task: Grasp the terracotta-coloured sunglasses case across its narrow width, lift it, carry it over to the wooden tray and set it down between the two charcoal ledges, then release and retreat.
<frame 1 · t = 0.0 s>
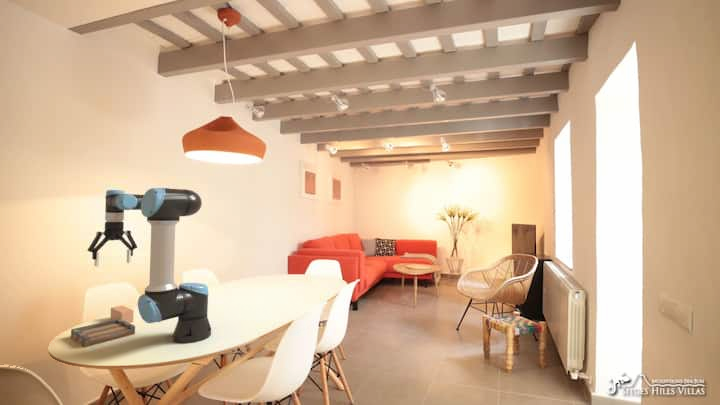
hand: (113, 264, 167), 28 cm above the table, fingers open, 13 cm apart
wooden tray: (103, 336, 148), on the table
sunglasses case: (121, 321, 167), on the table
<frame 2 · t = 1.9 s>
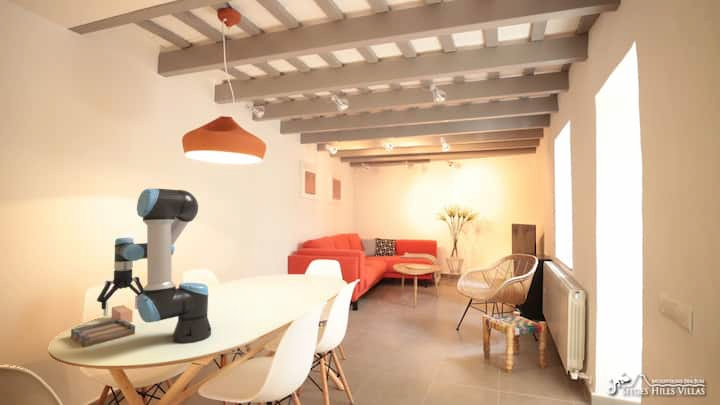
hand: (121, 312, 168), 4 cm above the table, fingers open, 13 cm apart
nothing on the table moved.
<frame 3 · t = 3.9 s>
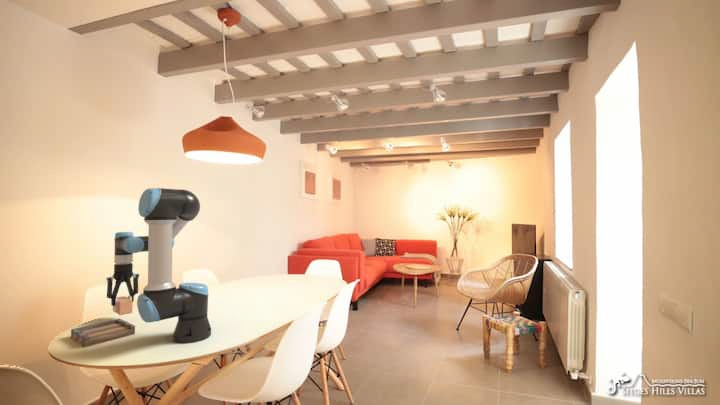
hand: (122, 310, 167), 5 cm above the table, fingers closed on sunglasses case, 5 cm apart
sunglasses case: (122, 311, 167), point 5 cm above the table, touching gripper
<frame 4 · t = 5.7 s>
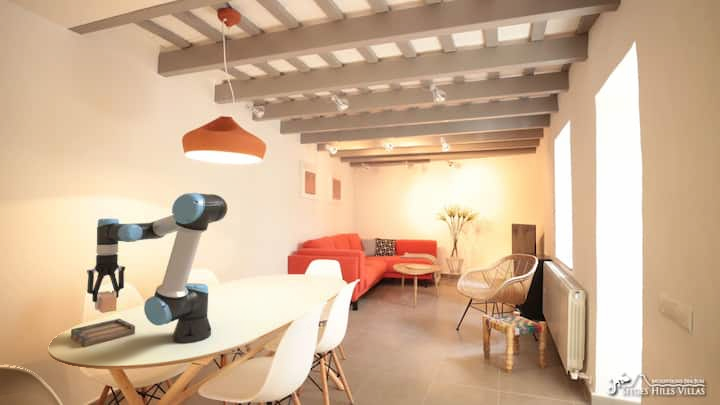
hand: (105, 307, 147), 13 cm above the table, fingers closed on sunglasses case, 5 cm apart
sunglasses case: (105, 308, 148), point 12 cm above the table, touching gripper
when the fingers open (3 cm above the table, at t = 7.7 s): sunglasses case stays where it is, resting on wooden tray.
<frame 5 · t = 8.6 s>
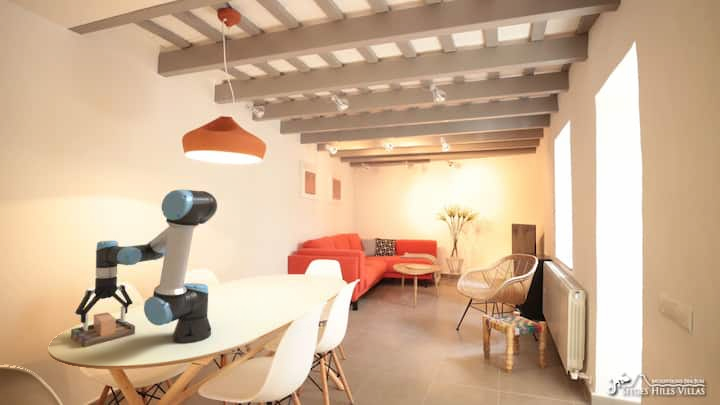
hand: (104, 325, 147), 5 cm above the table, fingers open, 13 cm apart
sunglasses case: (104, 330, 147), point 2 cm above the table, touching wooden tray
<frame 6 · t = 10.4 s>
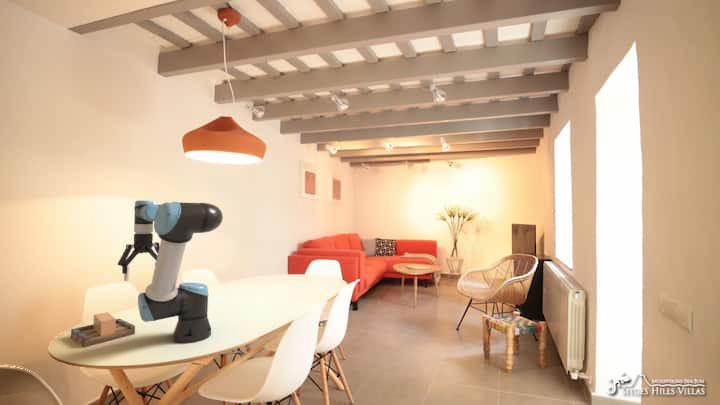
hand: (142, 278, 160), 23 cm above the table, fingers open, 13 cm apart
nothing on the table moved.
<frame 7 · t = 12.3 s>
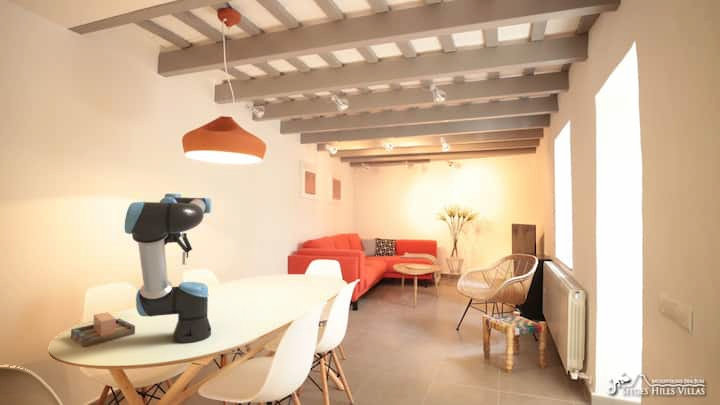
hand: (171, 266, 171), 27 cm above the table, fingers open, 13 cm apart
nothing on the table moved.
at the end: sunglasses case inside the target area on the wooden tray (0.2 cm from its centre), point 2.5 cm above the wooden tray's base; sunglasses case tilted 0°; the gripper is holding nothing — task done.
